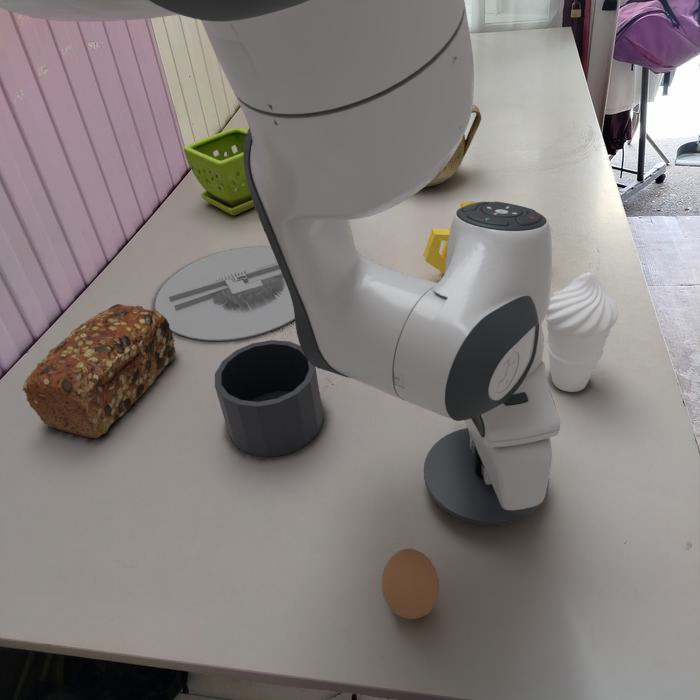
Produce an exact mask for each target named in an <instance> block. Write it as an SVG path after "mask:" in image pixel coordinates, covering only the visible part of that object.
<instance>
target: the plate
mask: <svg viewBox="0 0 700 700" xmlns="http://www.w3.org/2000/svg"><path fill="white" fill-rule="evenodd" d="M154 308H155V309H154V310H156V311H158V312H159V313H161V314H162V315H163V316H164V317H165V318H166V319H167V321H168V323H169V328H170V330H171V331H172V333H174V334H176V335H179V336H182V337H184V338H188V339H193V340H197V341H205V342H228V341H239V340H244V339H249V338H254V337H258V336H261V335H265V334H268V333H270V332H274V331H275V330H278V329H280V328H282V327H284V326H286V325H288V324H290V323H292V322H293V321H294V322H295V316H294V308H293V303H292V299H291V296H290V293H289V290H288V287H287V285H286V282H285V280H284V277H283V275H282V272H281V270H280V268H279V265H278V263H277V260H276V258H275V255H274V253H273V251H272V248H271V246H270V247H269V246H253V247H251V246H249V247H240V248H233V249H229V250H225V251H220V252H217V253H214V254H211V255H208V256H205V257H203V258H201V259H198V260H196V261H194V262H192V263H190V264H188V265H186V266H185V267H183V268H182V269H180V270H179V271H178V272H176V273H175V274H173V275H172V276H171V277H170V278H169V279H168V280H167V281H166V282H165V283H164V284H163V285H162V287H161V288H160V289H159V291H158V293H157V295H156V299H155V302H154Z"/></svg>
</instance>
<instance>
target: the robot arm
mask: <svg viewBox="0 0 700 700" xmlns="http://www.w3.org/2000/svg"><path fill="white" fill-rule="evenodd" d="M0 8H1V9H3V10H5V11H8V12H11V13H15V14H19V15H22V16H25V17H28V18H29V17H30V18H32V19H39V20H47V21H56V22H85V23H86V22H90V23H93V22H95V23H96V22H117V21H118V22H119V21H120V22H121V21H136V20H137V21H138V20H150V19H151V20H152V19H157V18H166V17H173V16H182V17H186V18H190V19H195V20H200V22H201V23H202V26H203V28H204V31H205V33H206V36H207V37H208V40H209V43H210V45H211V47H212V50H213V52H214V54H215V57H216V58H217V61H218V63H219V65H220V67H221V69H222V71H223V73H224V75H225V77H226V80H227V81H228V83H229V86H230V88H231V90H232V91H233V93H234V96H235V98H236V100H237V102H238V103H239V106H240V108H241V110H242V113H243V115H244V117H245V120H246V123H247V125H248V129H247V130H248V132H247V135H246V138H245V143H244V153H243V158H244V169H245V175H246V179H247V183H248V187H249V190H250V194H251V197H252V200H253V202H254V205H255V207H254V208H255V210H256V214H257V216H258V219H259V221H260V224H261V226H262V228H263V232H264V234H265V235H266V236H265V237H266V238H267V241H268V243H269V246H270V247H271V248H272V251H273V253H274V255H275V258H276V260H277V263H278V265H279V268H280V270H281V272H282V275H283V277H284V280H285V282H286V285H287V287H288V290H289V293H290V296H291V299H292V303H293V308H294V316H295V320H294V323H295V324H294V325H295V331H296V335H297V339H298V343H299V345H300V346H301V348H302V351H303V353H304V355H305V357H306V358H307V359H308V361H309V362H310V363H311V364H312V365H314V366H315V368H316V369H320V370H323V371H326V372H329V373H332V374H336V375H339V376H341V377H345V378H349V379H353V380H355V381H357V382H360V383H362V384H363V385H367V386H369V387H372V388H374V389H376V390H379V391H381V392H383V393H386V394H388V395H390V396H393V397H396V398H398V399H400V400H402V401H405V402H408V403H411V404H412V405H415V406H417V407H420V408H422V409H424V410H427V411H430V412H432V413H435V414H437V415H440V416H442V417H445V418H449V419H452V420H453V421H456V422H462V421H464V423H465V426H466V428H468V431H469V435H470V448H471V450H472V453H473V455H474V457H475V446H476V449H477V451H478V453H479V456H480V458H481V460H482V463H483V464H481V474H482V476H483V479H484V481H485V483H486V484H488V485H489V484H492V486H493V488H494V490H495V493H496V495H497V497H498V500H499V502H500V505H501V507H502V508H503V509H505V510H520V509H526V508H530V507H534V506H537V505H539V504H540V503H541V502H542V501H543V502H544V500H545V498H546V496H545V494H546V490H547V485H548V480H549V481H550V475H551V468H552V460H553V450H552V449H553V447H552V442H551V438H554V437H557V436H558V435H559V434H560V430H561V418H560V415H559V412H558V409H557V406H556V404H555V402H554V399H553V395H552V392H551V390H550V387H549V383H548V378H547V371H546V365H545V362H544V361H543V358H544V357H543V356H544V348H545V337H544V331H543V329H542V328H543V327H542V325H543V322H544V320H545V319H546V316H547V311H548V308H549V301H550V298H551V290H552V281H553V278H552V277H553V240H552V233H551V232H552V231H551V227H550V224H549V221H548V219H547V218H546V217H545V216H544V215H543V214H541V213H539V212H538V211H536V210H535V209H533V208H529V207H527V206H523V205H518V204H513V203H508V202H503V201H478V202H474V203H472V204H469V205H467V206H464V207H462V208H460V207H459V208H458V209H457V210H455V212H454V213H453V216H452V220H451V225H450V228H449V229H450V234H449V240H448V248H447V257H446V268H445V275H444V274H443V276H442V277H441V279H440V280H439V281H438V282H436V281H432V280H429V279H426V278H422V277H420V276H416V275H413V274H410V273H405V272H403V271H401V270H400V271H399V270H396V269H393V268H390V267H388V266H385V265H383V264H380V263H378V262H376V261H374V260H373V259H370V258H369V257H367V256H365V255H363V254H362V253H361V252H360V251H359V250H357V248H356V243H355V239H354V235H353V230H352V226H351V220H358V219H365V218H368V217H372V216H375V215H378V214H381V213H383V212H386V211H388V210H391V209H393V208H394V207H396V206H398V205H400V204H401V203H403V202H405V201H407V200H408V199H410V198H412V197H413V196H414V195H416V194H417V193H419V192H420V191H421V190H422V189H423V188H426V187H425V186H426V185H427V184H428V183H430V182H431V181H432V180H433V179H434V178H435V177H436V176H437V175H438V174H439V173H440V172H441V170H442V169H443V168H444V167H445V165H446V164H447V163H448V161H449V160H450V159H451V157H452V156H453V154H454V153H455V151H456V149H457V148H458V146H459V144H460V142H461V140H462V138H463V136H464V134H465V133H466V131H467V129H468V126H469V123H470V120H471V116H472V113H471V112H472V105H474V95H475V94H474V93H475V70H474V69H475V67H474V65H475V64H474V55H473V54H474V53H473V46H472V45H473V44H472V39H471V32H470V27H469V20H468V14H467V9H466V8H467V7H466V2H465V0H0ZM547 491H548V490H547ZM546 495H547V494H546ZM544 497H545V498H544ZM543 502H542V503H543ZM542 503H541V504H542ZM541 504H540V505H541Z"/></svg>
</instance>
